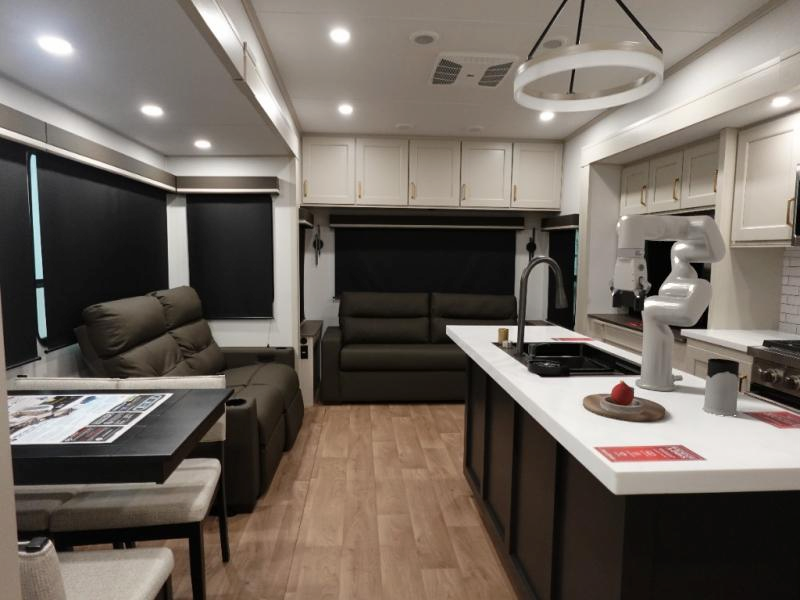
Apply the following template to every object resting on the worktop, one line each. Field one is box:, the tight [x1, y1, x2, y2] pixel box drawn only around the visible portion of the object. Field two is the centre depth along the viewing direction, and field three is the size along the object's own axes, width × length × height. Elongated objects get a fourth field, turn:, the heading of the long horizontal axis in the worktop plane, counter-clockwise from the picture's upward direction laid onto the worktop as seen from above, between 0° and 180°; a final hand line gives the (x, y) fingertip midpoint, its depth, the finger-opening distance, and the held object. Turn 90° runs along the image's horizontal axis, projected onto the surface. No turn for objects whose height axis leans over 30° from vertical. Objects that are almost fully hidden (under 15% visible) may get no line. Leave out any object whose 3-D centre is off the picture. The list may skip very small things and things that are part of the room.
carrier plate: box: [582, 385, 667, 423], centre depth 142 cm, size 22×22×4 cm
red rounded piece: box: [610, 379, 635, 406], centre depth 139 cm, size 6×6×8 cm
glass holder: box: [701, 358, 740, 417], centre depth 143 cm, size 9×14×15 cm, turn 162°
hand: (627, 309), depth 153 cm, fingers open, 9 cm apart
